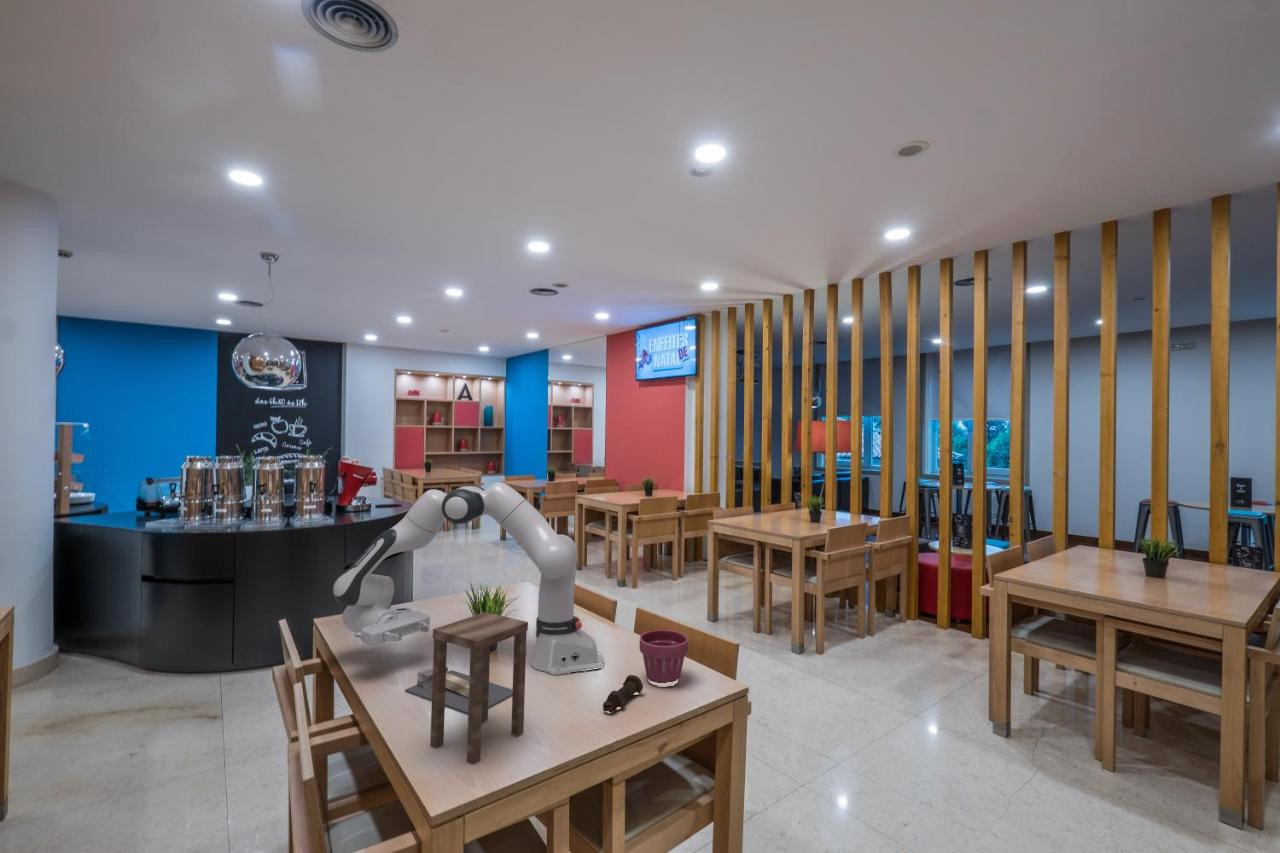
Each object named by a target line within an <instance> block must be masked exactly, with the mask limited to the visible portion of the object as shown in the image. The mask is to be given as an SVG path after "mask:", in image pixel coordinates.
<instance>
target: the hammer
mask: <svg viewBox="0 0 1280 853" xmlns="http://www.w3.org/2000/svg"><path fill="white" fill-rule="evenodd" d="M448 671H449V668H448V667H447V666H446V686H445V687H446V688H448V689H450V690H452V691H455V692H457V693H459V694H461V695H464V696H466V697H468V698H469V682H468V681H466V680H463V679H461V678H459V677H456V676H454V675H452V674H449V673H448ZM416 677H417V678H416V685H419V686H421V687H423V688H425V689H428V688H430V687H432V681H433V665H432V666H429V667H427V668H424V669H421V670H418V671H417V676H416Z"/></svg>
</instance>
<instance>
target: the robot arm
mask: <svg viewBox="0 0 1280 853" xmlns="http://www.w3.org/2000/svg"><path fill="white" fill-rule="evenodd" d="M483 515H487V516H489V517H491V518H492V519H493V520H494V521H496V523H498V524H499V525H500V526H501V527H502V528H503V529H504V530H505V531H506V533H508V535H510V536H511V537H512V539H514V540H515V541H516V543H518V544H519V546H520V547H521V548H522V550H523V551H524V553H525V554H526V555H527V556H528V557H529V559H530V560H531V561H532V563H533V564H534V565H535V566H536V567H537V569H538V571H539V572H540V581H539V589H538V602H537V605H538V606H537V617H536V621H535V636H536V640H535V647H534V651H533V656H532V660H531V663H530V664H531V667H532V668H534V669H535V670H537V671H542V672H545V673H548V674H550V675H551V676H556V675H565V674H567V673H568V674H572V673H571V672H576V671H582V670H587V669H593V668H599V667H601V666H602V664H603V662H604V663H605V658H604V655H602V653H600V652H599V651H598V648H597V644H596V642H595V640H594V639H593V638H592V637H591V636H590V635H589V634H588V633H586V632H585V631H584V630H582V627H583V624H582V621H581V620H580V618H579V617H578V616H575V615H574V612H575V611H574V610H575V609H574V608H575V607H574V606H575V586H576V573H577V557H578V556H577V554H578V553H577V552H578V549H577V548H578V547H577V544H576V543H575V541H574V540H573V539H572V538H571V537H570V536H568V535H567V534H566V535H565V534H561V533H560V534H557V533H556V531H555V530H554V529H553V528H552V526H551V525H550V523H549V522H548V521H547V520H546V518H545V517H544V516H543V514H541V513H540V512H539V511H538V510H537V509H536V508H535V507H534V506H533V505H532V504H531V503H530V502H529V501H528V500H527V499H526V498H525V497H524V496H523V495H521V493H519V492H518V491H517V490H515V489H514V488H513V487H511V486H509V485H508V484H507V483H505V482H502V481H497V482H494V483H492V484H490V485H489V486H488V487H487V488H485V489H484V488H483V487H482V486H478V485H467V486H459V487H458V488H455V489H452V490H451V491H449V492H448V493H445V492H444V491H442V490H439V489H429V490H426V491H425V492H424V493H423V494H422V495H421V496H420V497H419V498H418V499H417V500H416V501H415V502H414V503H413V505H412V506H411V507H410V509H409V510H408V511H407V513H406V514H405V516H403V518H402V519H401V520H400V521H398V523H396V524H395V525H394V526H392V527H391V528H389V529H386V530H384V531H383V532H382V533H381V534H380V535H378V536H377V537H376V538H375V539H374V540H373V542H372V543H371V544H370V545H369V546H368V547H367V548H366V549H365V550H364V552H363V553H362V554H361V555H360V556H359V557H358V558H357V559H356V561H354V563H353V564H352V565H351V566H350V567H348V568H347V569H346V570H344V572H342V573H341V574H340V575H339V576H338V577H337V578H336V580H335V581H334V583H333V586H332V595H333V598H334V599H335V602H337V604H338V605H339V606H341V607H346V608H344V610H343V613H342V618H341V619H342V622H343V624H344V626H345V627H346V628H347V629H348V630H349V631H351V632H354V637H355V638H358V639H360V641H361V642H362V643H364V644H365V645H367V646H377V645H380V644H383V643H386V642H396V643H397V642H400V641H402V639H403V638H402V637H405V636H407V635H411V634H414V633H417V632H421V633H428V632H429V631H430V624H431V617H430V615H428V614H426V613H423V612H419V611H414V610H412V609H411V608H410V607H405V608H404V607H403V608H391V607H392V605H393V603H394V600H395V598H396V592H397V589H396V587H397V586H396V583H395V581H394V579H393V578H392V577H391V576H390V575H389V576H388V575H387V576H386V575H381V574H373V572H374V570H376V568H377V567H379V565H380V564H382V563H381V562H383V561H384V560H385V559H387V558H388V557H389V556H391V555H394V554H398V553H401V552H402V553H403V552H409V551H410V552H411V551H416V550H420V549H423V548H424V547H426V546H428V545H429V544H430V543H431V542H432V541H433V539H434V538H435V536H436V535H437V534H438V532H439V530H440V529H441V528H442V527H443V525H444V524H445V523H446V522H447V521H448V522H450V523H452V524H454V525H464V524H467V523H470V522H473V521H475V520H477V519H479V518H480V517H481V516H483ZM597 653H600V654H597ZM599 663H601V664H599ZM576 673H577V672H576Z"/></svg>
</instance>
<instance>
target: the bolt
mask: <svg viewBox="0 0 1280 853" xmlns="http://www.w3.org/2000/svg"><path fill="white" fill-rule="evenodd" d="M643 684H644V683H643V682H642V680H641V679H640V677H639V676H637V675H633V674H628V675H627V677H626V678H625V680H624V682H623V684H622V687H621V688H619V689H618V690H612V691H610V692H609V694H608V696H607V697H606V700H605V701H604V702H603V704H602V710H603V711H604V712H605V711H609V712H612V713H614V712H615V711H616V710H615V709H616V708H617V707H622V706H623V705H624V706H625V704H626V701H627V700H629V699H630V697H632V696H634V695H633V694H634V693H635V692H638V693H640V694H641V692H642V691H643V689H644V685H643ZM631 695H632V696H631ZM624 706H623V707H624ZM623 707H622V708H623ZM614 710H615V711H614ZM613 711H614V712H613Z"/></svg>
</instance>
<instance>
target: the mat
mask: <svg viewBox="0 0 1280 853" xmlns="http://www.w3.org/2000/svg"><path fill="white" fill-rule="evenodd" d="M448 673H449V674H452V675H454V676H456V677H459V678H461V679H463V680H466V681H468V682H469V677H470V674H469V675H468V674H465V673H462V672H459V671H455V670H453V669H451V670H448ZM404 689H405V688H404ZM404 692H405V693H407V692H408V694H410V693H411V695H413V696H415V695H416V696H415V697H418V696H419V698H421V699H424V700H426V699H427V701H429V700H430V701H429V702H432V687H430V688H428V689H425V688H423V687H421V686H419V685H417V684H415V685H413V686H411V687H408V688H406V689H405V690H404ZM512 692H513V688H509V687H506V686H503V685H501V684H497V683H494V682H490V681H489V698H488V710H489V709H491V708H493V707H495V706H497V705H499V704H500V703H502V702H504V701H506V700H508V699H510V698H511V697H510V696H512ZM509 697H510V698H509ZM507 698H508V699H507ZM505 699H506V700H505ZM503 700H504V701H503ZM498 703H499V704H498ZM496 704H497V705H496ZM445 708H448V709H451V710H453V711H456V712H459V713H462V714H465V715H466V716H468V708H469V698H468V697H466V696H464V695H461V694H459V693H457V692H455V691H452V690H450V689H448V688H446V687H445Z"/></svg>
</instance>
